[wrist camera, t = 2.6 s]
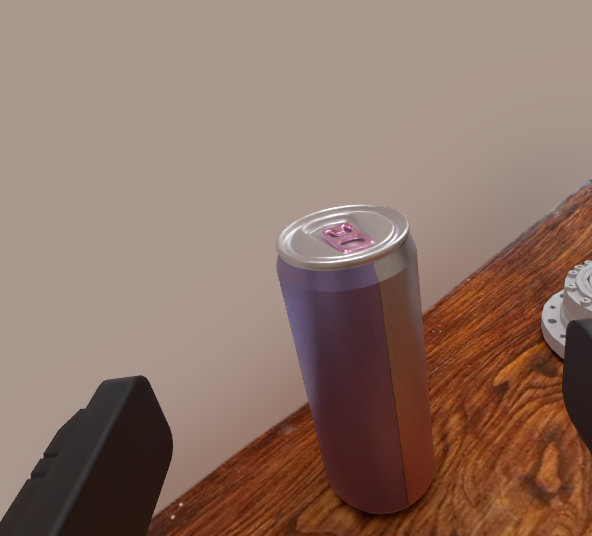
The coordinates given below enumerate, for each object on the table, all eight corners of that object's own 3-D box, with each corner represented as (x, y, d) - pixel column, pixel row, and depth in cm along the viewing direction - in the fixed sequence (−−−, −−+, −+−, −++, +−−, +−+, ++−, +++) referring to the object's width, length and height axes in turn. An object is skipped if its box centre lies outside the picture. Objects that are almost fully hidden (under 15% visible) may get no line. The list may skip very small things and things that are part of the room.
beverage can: (356, 541, 24) (299, 282, 17) (312, 454, 29) (254, 229, 22) (458, 490, 25) (445, 230, 18) (398, 416, 30) (370, 192, 23)
